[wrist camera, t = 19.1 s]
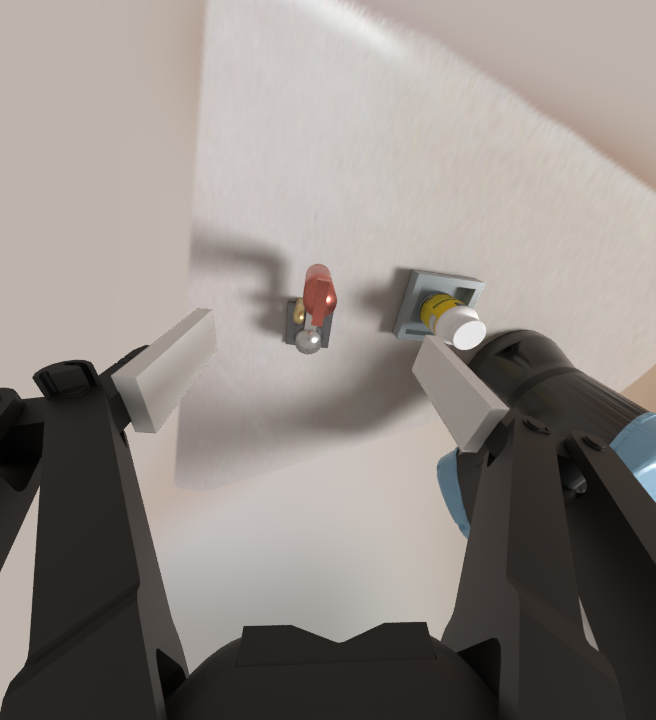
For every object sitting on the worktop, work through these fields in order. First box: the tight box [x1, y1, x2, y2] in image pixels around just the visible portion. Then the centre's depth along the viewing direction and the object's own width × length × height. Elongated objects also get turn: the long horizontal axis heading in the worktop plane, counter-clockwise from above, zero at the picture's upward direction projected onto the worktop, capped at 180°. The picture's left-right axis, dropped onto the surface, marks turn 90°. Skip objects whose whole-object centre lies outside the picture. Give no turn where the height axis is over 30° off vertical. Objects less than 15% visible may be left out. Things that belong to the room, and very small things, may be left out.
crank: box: [295, 264, 337, 354], centre depth 27 cm, size 13×4×11 cm, turn 170°
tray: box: [393, 270, 486, 344], centre depth 36 cm, size 10×10×2 cm
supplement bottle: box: [418, 292, 486, 350], centre depth 32 cm, size 5×5×10 cm
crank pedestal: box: [286, 298, 333, 348], centre depth 34 cm, size 7×8×6 cm
